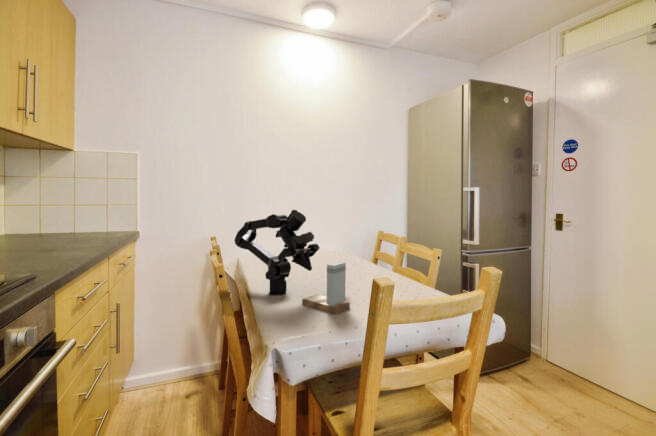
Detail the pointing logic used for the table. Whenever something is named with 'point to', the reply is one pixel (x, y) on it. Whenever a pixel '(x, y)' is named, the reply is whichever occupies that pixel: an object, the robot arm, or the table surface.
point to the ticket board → (325, 304)
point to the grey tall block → (336, 283)
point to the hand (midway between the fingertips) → (310, 269)
